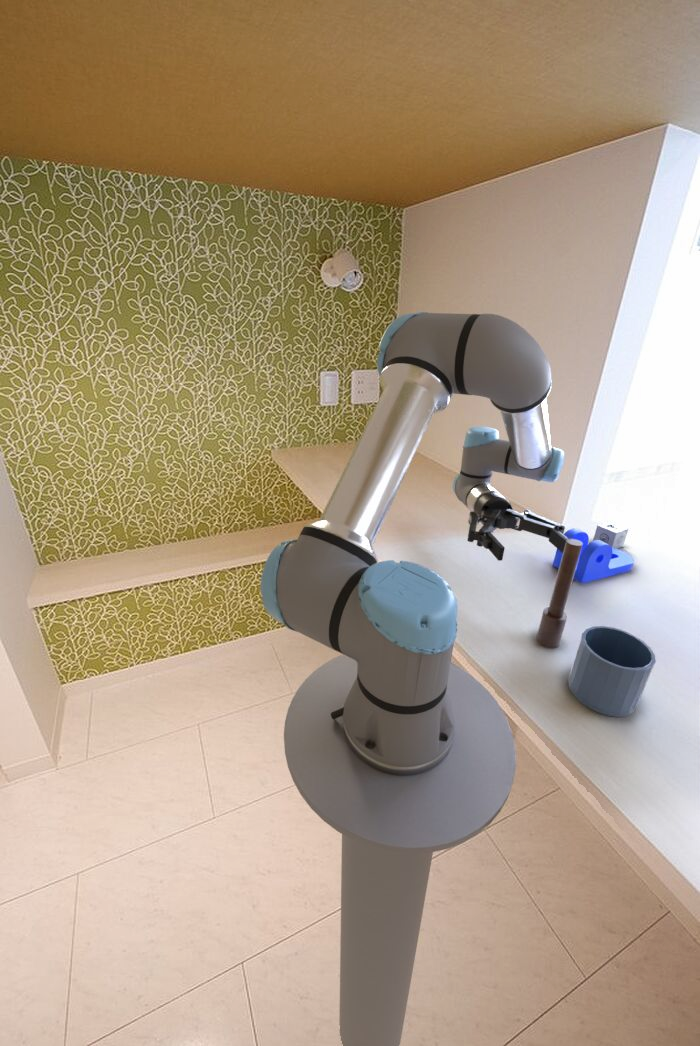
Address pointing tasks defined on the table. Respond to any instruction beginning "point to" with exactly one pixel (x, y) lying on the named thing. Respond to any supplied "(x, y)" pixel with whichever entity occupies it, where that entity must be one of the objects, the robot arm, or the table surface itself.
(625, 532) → the dice cube
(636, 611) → the table surface
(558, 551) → the bracket
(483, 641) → the table surface
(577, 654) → the blue faceted pencil cup
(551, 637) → the muddler
